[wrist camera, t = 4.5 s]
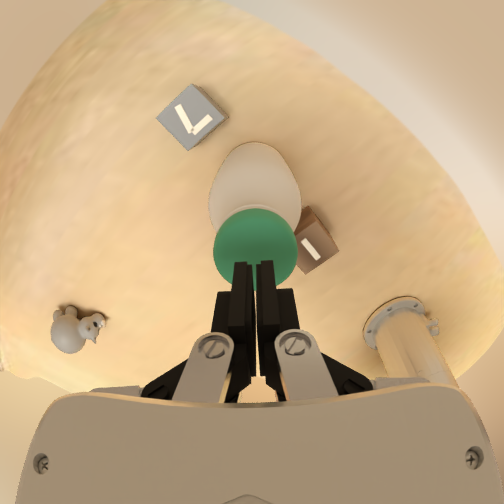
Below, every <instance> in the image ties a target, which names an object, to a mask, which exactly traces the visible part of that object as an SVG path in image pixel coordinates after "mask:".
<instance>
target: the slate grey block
mask: <svg viewBox="0 0 504 504" xmlns="http://www.w3.org/2000/svg"><path fill="white" fill-rule="evenodd" d="M227 118H228V115H227V114H226V113H225V112H224V111H223V110H222V109H221V108H220V107H219V106H218V105H217V104H216V103H215V102H214V101H213V100H212V99H211V98H210V97H209V96H208V95H207V94H206V93H205V92H204V91H203V90H202V89H201V88H200V87H198V86H196V85H193V84H190V85H189V86H188V87H187V88H186V89H185V90H184V91H183V92H182V93H181V94H180V95H178V96H177V97H176V98H175V99H174V100H173V101H172V102H171V103H170V104H169V105H168V106H167V107H166V108H165V109H164V110H163V111H162V112H161V113H160V114H159V115H158V116H157V117H156V119H157V120H158V121H159V122H160V123H161V124H162V125H163V126H164V127H165V128H166V129H167V130H168V131H169V132H170V133H171V134H172V135H173V136H174V137H175V138H176V139H177V140H178V141H179V143H180V144H181V145H182V146H183V147H184V148H185V149H186V150H187V151H189V150H190V149H192V148H193V147H195V146H196V145H198V144H199V143H200V142H201V141H202V140H203V139H204V138H205V137H207V136H208V135H209V134H210V133H211V132H212V131H213V130H214V129H216V128H217V127H218V126H219V125H220V124H221V123H222V122H224V121H225V120H226V119H227Z"/></svg>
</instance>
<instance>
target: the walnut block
mask: <svg viewBox="0 0 504 504" xmlns="http://www.w3.org/2000/svg"><path fill="white" fill-rule="evenodd" d="M294 235H295V238H296V242H297V247H298V257H297V262H296V265H297V266H298V267H299V268H300V269H301V270H302V271H303V272H304V274H305V275H306V274H307V273H309V272H310V271H311V270H313V269H314V268H316V267H317V266H319V265H320V264H322V263H323V262H325V261H326V260H328V259H329V258H330V257H332V256H333V255H335V254H336V253H338V252H339V250H338V248H337V246H336V244H335V243H334V241H333V239H332V237H331V235H330V233H329V232H328V231H327V229H326V228H325V227H324V225H323V224H322V223H321V222H320V220H319V219H318V218H317V216H316V215H315V214H314V212H313V211H312V210H311V209H310V207H309V206H307V207H306V208H305V209H303V210H302V211H301V215H300V219H299V222H298V225H297V227H296V229H295V231H294Z"/></svg>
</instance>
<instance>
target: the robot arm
mask: <svg viewBox="0 0 504 504" xmlns="http://www.w3.org/2000/svg"><path fill="white" fill-rule="evenodd" d="M256 312H257V337H258V351H259V365H260V376H266V384H267V385H268V386H270V387H271V388H272V389H274V390H275V397H276V401H277V402H268V403H267V402H266V403H240V402H241V397H242V390H243V389H244V388H245V387H247V386H248V385H249V384H251V377H253V376H256ZM437 325H438V319H437V318H436V319H431V320H427V319H426V317H425V309H424V307H423V305H422V303H421V302H420V301H419V300H418V299H416V298H413V297H401V298H397V299H394V300H392V301H390V302H388V303H386V304H384V305H383V306H381V307H380V308H379V309H377V310H376V311H375V312H374V313H373V314H372V315H371V317H370V318H369V319H368V321H367V323H366V325H365V327H364V332H363V336H364V339H365V342H366V344H367V345H368V346H369V347H370V348H372V349H375V350H378V352H379V354H380V357H381V359H382V362H383V364H384V367H385V370H386V372H387V375H388V378H375V380H369V379H368V378H366V377H365V376H364V375H362V374H360V373H358V372H356V371H354V370H352V369H351V368H349V367H347V366H345V365H343V364H341V363H339V362H338V361H336V360H334V359H332V358H330V357H329V356H327V355H325V354H323V353H321V352H320V350H319V348H318V345H317V343H316V341H315V339H314V337H313V336H312V335H311V334H310V333H308V332H306V331H304V330H300V327H299V321H298V315H297V310H296V304H295V299H294V294H293V289H292V288H288V289H276V282H275V273H274V264H273V260H263V261H261V264H256V311H255V297H254V283H253V269H252V264H248V265H247V261H243V262H235V263H234V271H233V280H232V289H231V291H224V292H218V293H217V298H216V304H215V310H214V316H213V322H212V328H211V333H208V334H205V335H203V336H201V337H200V338H199V339H197V341H196V342H195V344H194V346H193V348H192V351H191V353H190V356H189V358H188V359H187V360H185V361H184V362H182V363H180V364H179V365H177V366H176V367H174V368H172V369H171V370H169V371H168V372H166V373H164V374H163V375H161V376H160V377H158V378H156V379H155V380H153V381H152V382H150V383H149V384H147V385H146V386H145V387H144V388H140V387H139V385H138V386H126V387H110V388H96V389H93V390H91V391H90V392H79V393H73V394H68V395H65V396H62V397H59V398H57V399H56V400H54V401H53V402H52V403H51V404H50V406H49V407H48V408H47V410H46V412H45V413H44V415H43V417H42V419H41V421H40V423H39V425H38V427H37V429H36V432H35V434H34V437H33V439H32V442H31V444H30V447H29V450H28V454H27V457H26V460H25V463H24V467H23V470H22V474H21V478H20V482H19V486H18V491H17V496H16V502H15V504H504V494H503V489H502V483H501V478H500V474H499V470H498V466H497V462H496V459H495V456H494V452H493V449H492V446H491V443H490V440H489V437H488V435H487V432H486V430H485V427H484V425H483V423H482V420H481V418H480V416H479V414H478V412H477V410H476V408H475V407H474V405H473V403H472V402H471V400H470V399H469V397H468V396H467V395H466V394H465V393H464V392H463V391H462V390H461V389H460V388H459V386H458V384H457V382H456V380H455V378H454V376H453V374H452V372H451V370H450V368H449V367H448V365H447V363H446V361H445V359H444V357H443V355H442V354H441V352H440V350H439V348H438V346H437V345H436V343H435V341H434V339H433V338H432V336H436V335H438V334H439V328H438V326H437ZM432 326H433V327H432Z"/></svg>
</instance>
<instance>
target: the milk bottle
mask: <svg viewBox="0 0 504 504" xmlns="http://www.w3.org/2000/svg"><path fill="white" fill-rule="evenodd" d="M301 208H302V202H301V194H300V190H299V187H298V184H297V182H296V180H295V178H294V176H293V174H292V172H291V170H290V168H289V167H288V165H287V163H286V162H285V160H284V159H283V157H282V156H281V154H280V153H279V152H278V151H277V150H275V149H274V148H273V147H271V146H269V145H267V144H264V143H259V142H250V143H245V144H242V145H240V146H238V147H236V148H235V149H234V150H232V151H231V152H230V153H229V155H228V156H227V157H226V159H225V160H224V162H223V164H222V166H221V167H220V169H219V171H218V173H217V175H216V177H215V179H214V181H213V184H212V187H211V190H210V193H209V202H208V209H209V215H210V219H211V222H212V225H213V227H214V229H215V231H216V232H217V235H216V238H215V242H214V248H213V256H214V261H215V264H216V267H217V269H218V271H219V273H220V274H221V275H222V277H223V278H224V279H225V280H227V281H228V282H229V283H231V284H232V280H233V271H234V263H235V262H243V261H247V265H248V264H252V269H253V283H254V291H256V264H261V261H263V260H273V264H274V273H275V282H276V286H277V285H279V284H280V283H282V282H283V281H284V280H286V279H287V278H288V277H289V275H290V274H291V273H292V271H293V269H294V267H295V265H296V262H297V257H298V247H297V242H296V238H295V235H294V231H295V229H296V227H297V225H298V222H299V219H300V215H301Z"/></svg>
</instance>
